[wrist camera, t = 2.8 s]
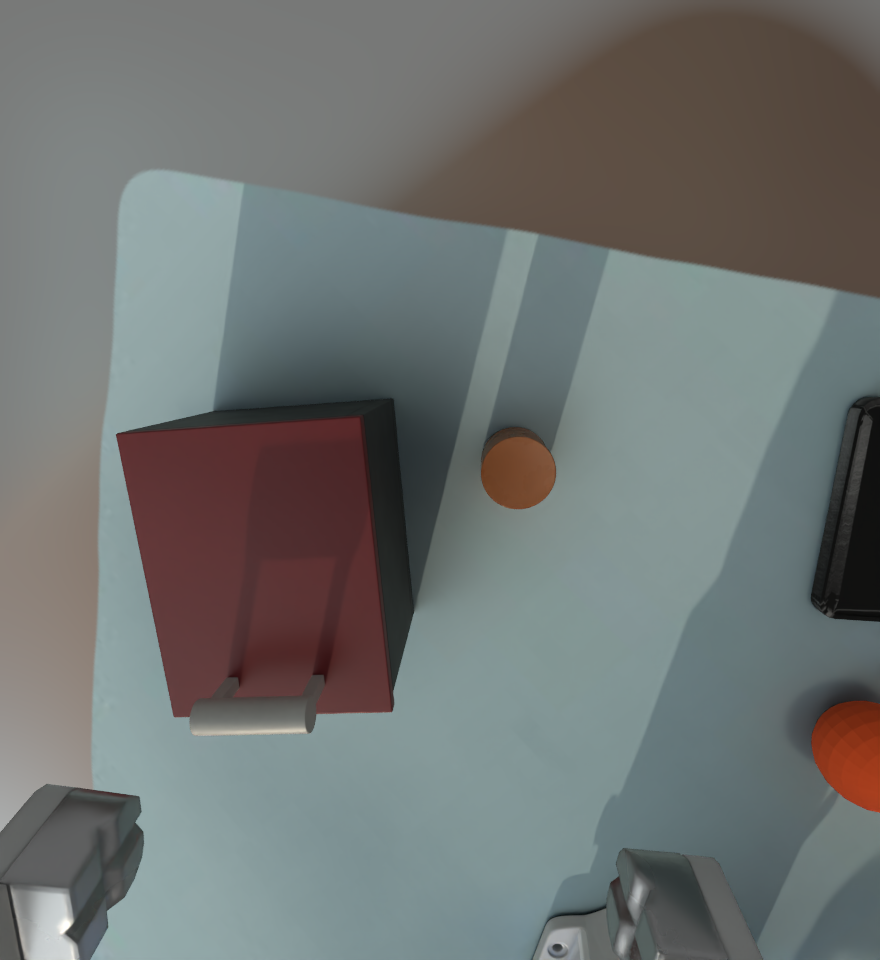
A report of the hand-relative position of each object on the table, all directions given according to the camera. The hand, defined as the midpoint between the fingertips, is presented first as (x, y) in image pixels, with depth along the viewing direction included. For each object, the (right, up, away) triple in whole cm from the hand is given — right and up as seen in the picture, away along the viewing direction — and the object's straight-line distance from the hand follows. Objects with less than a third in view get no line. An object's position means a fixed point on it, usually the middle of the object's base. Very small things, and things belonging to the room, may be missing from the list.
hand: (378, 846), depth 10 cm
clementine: (+31, -12, +32) cm, 47 cm away
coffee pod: (+6, +8, +30) cm, 31 cm away
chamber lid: (-9, +1, +22) cm, 24 cm away
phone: (+31, +4, +29) cm, 43 cm away
